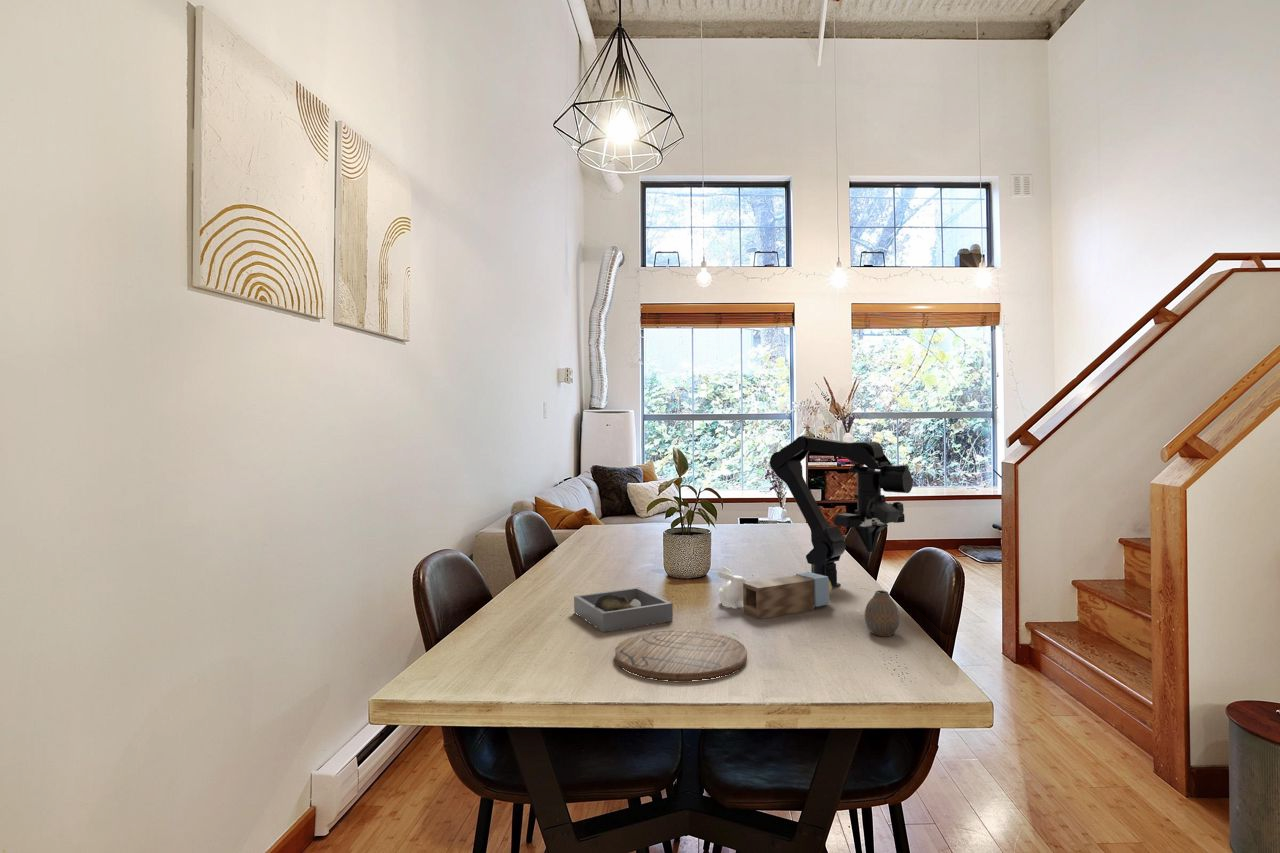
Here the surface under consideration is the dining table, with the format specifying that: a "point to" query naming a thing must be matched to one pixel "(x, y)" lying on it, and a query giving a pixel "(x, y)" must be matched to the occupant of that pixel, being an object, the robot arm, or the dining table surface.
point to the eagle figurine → (616, 603)
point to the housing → (778, 596)
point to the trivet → (681, 655)
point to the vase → (882, 614)
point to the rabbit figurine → (731, 589)
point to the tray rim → (624, 610)
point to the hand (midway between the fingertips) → (870, 551)
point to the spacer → (819, 588)
